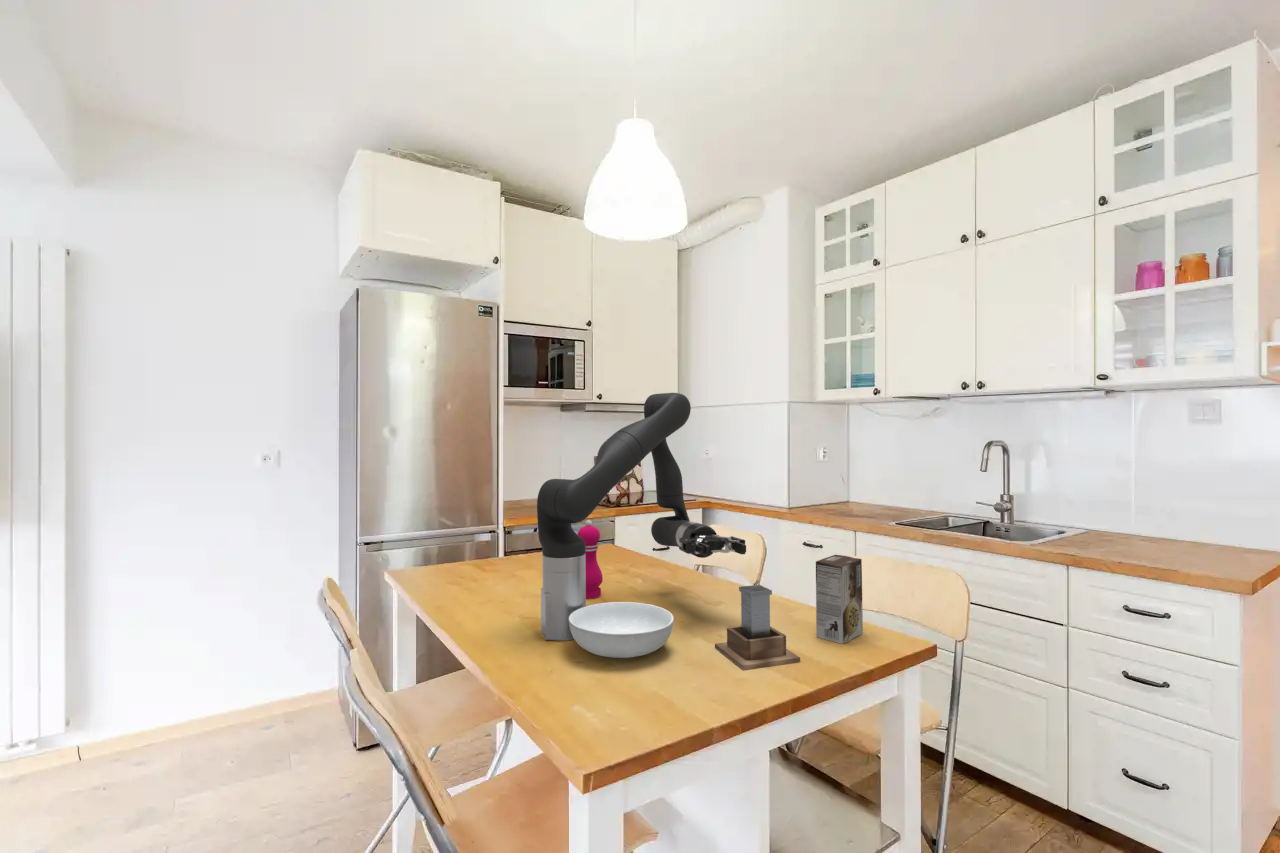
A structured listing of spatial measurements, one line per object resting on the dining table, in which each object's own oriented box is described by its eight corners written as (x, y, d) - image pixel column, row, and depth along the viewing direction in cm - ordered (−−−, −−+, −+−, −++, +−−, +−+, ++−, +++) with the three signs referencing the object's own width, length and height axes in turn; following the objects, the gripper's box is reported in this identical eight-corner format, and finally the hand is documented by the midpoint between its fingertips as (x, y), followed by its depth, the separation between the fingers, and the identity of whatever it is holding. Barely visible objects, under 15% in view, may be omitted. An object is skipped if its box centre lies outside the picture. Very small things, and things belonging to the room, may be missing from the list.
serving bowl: (642, 679, 108) (641, 640, 108) (547, 658, 118) (547, 622, 118) (691, 642, 126) (691, 609, 126) (605, 627, 136) (605, 596, 136)
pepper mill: (601, 599, 158) (601, 521, 158) (573, 599, 158) (573, 522, 158) (603, 591, 165) (603, 517, 165) (577, 591, 166) (576, 518, 166)
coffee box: (835, 627, 135) (835, 553, 135) (863, 633, 130) (863, 558, 130) (814, 637, 129) (814, 560, 129) (843, 644, 124) (843, 565, 124)
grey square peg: (751, 656, 116) (750, 592, 116) (739, 647, 120) (739, 586, 120) (772, 652, 117) (771, 590, 117) (760, 644, 122) (759, 584, 122)
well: (742, 669, 111) (742, 645, 111) (714, 647, 123) (714, 625, 123) (800, 661, 115) (800, 638, 115) (767, 640, 126) (767, 619, 126)
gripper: (668, 523, 144) (695, 533, 128) (723, 522, 148) (756, 531, 133) (667, 555, 144) (694, 569, 128) (723, 553, 148) (755, 566, 132)
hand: (726, 550), depth 130 cm, fingers open, 8 cm apart
